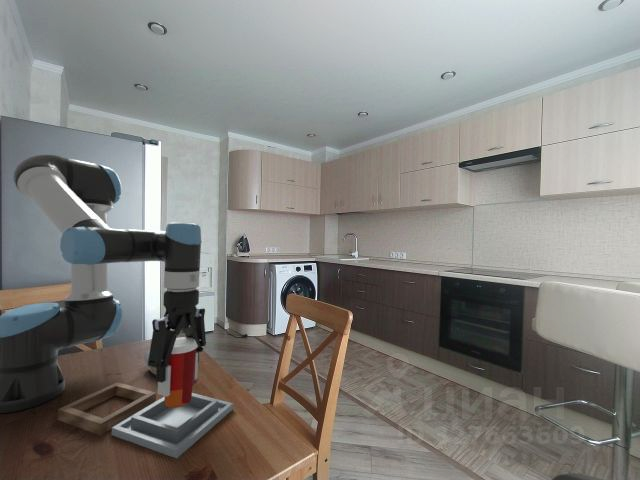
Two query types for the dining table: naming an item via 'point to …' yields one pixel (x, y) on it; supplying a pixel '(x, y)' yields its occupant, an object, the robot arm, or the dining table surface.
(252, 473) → the dining table surface
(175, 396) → the paper cup
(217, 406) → the grey tray
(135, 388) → the walnut collar
